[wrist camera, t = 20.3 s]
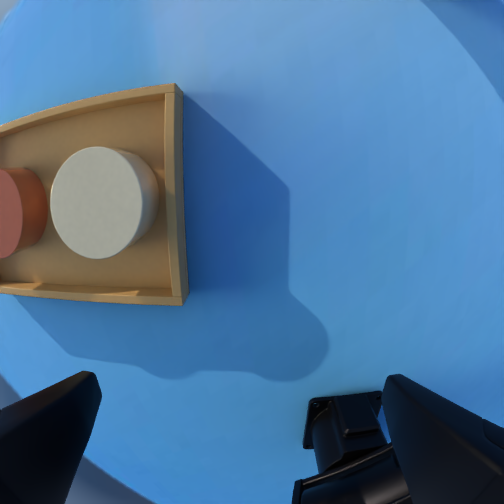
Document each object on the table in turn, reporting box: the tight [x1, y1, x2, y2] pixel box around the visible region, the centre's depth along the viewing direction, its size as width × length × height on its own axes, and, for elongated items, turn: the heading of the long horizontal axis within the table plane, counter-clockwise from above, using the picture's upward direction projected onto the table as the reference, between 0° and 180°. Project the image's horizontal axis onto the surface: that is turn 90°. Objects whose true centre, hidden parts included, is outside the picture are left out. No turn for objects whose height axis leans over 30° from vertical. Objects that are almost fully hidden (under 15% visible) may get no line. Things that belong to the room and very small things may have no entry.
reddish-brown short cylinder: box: [0, 167, 48, 259], centre depth 17 cm, size 6×6×3 cm
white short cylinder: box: [50, 146, 160, 259], centre depth 17 cm, size 6×6×3 cm
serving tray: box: [0, 83, 189, 306], centre depth 18 cm, size 13×18×2 cm
